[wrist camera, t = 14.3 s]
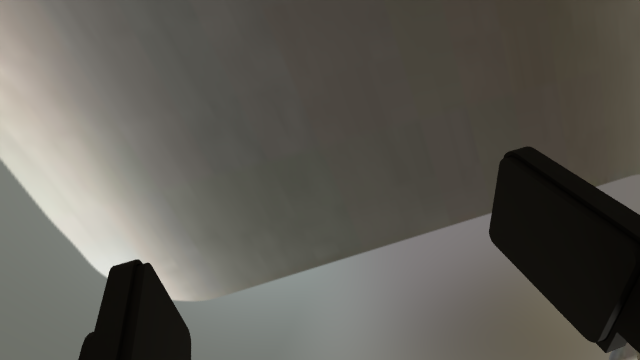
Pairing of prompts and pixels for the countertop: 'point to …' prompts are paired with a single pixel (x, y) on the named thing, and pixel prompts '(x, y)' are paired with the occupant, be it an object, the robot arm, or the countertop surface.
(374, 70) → the countertop surface
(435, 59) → the countertop surface
